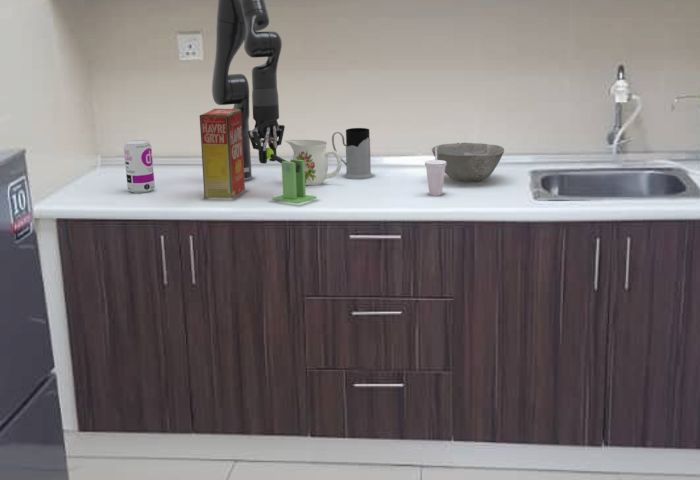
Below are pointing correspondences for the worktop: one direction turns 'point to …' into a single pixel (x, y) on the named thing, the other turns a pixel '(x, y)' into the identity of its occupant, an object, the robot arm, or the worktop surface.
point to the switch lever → (271, 155)
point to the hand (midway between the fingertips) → (267, 161)
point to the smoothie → (435, 175)
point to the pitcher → (314, 159)
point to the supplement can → (139, 166)
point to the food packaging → (222, 153)
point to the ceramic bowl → (469, 160)
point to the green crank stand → (293, 183)
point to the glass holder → (356, 153)
